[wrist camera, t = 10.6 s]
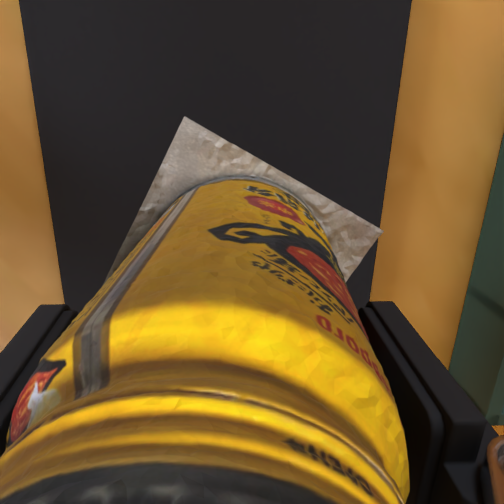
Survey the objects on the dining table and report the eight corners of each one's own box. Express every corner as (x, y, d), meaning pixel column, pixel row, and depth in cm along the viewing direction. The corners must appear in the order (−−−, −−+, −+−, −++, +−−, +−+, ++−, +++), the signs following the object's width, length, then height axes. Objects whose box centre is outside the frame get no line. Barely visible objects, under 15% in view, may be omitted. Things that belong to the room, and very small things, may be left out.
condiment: (382, 228, 14) (816, 742, 3) (256, 407, 17) (232, 1032, 6) (185, 115, 13) (-298, 238, 2) (84, 324, 16) (-364, 885, 5)
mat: (19, -30, 17) (13, -34, 17) (408, -12, 18) (414, -16, 18) (80, 381, 24) (77, 388, 24) (355, 374, 26) (358, 381, 25)
